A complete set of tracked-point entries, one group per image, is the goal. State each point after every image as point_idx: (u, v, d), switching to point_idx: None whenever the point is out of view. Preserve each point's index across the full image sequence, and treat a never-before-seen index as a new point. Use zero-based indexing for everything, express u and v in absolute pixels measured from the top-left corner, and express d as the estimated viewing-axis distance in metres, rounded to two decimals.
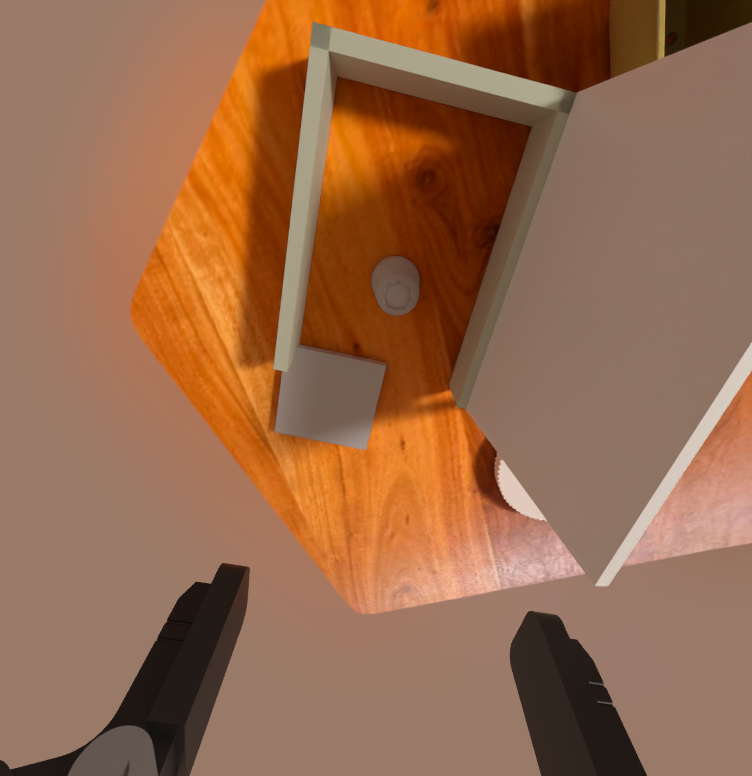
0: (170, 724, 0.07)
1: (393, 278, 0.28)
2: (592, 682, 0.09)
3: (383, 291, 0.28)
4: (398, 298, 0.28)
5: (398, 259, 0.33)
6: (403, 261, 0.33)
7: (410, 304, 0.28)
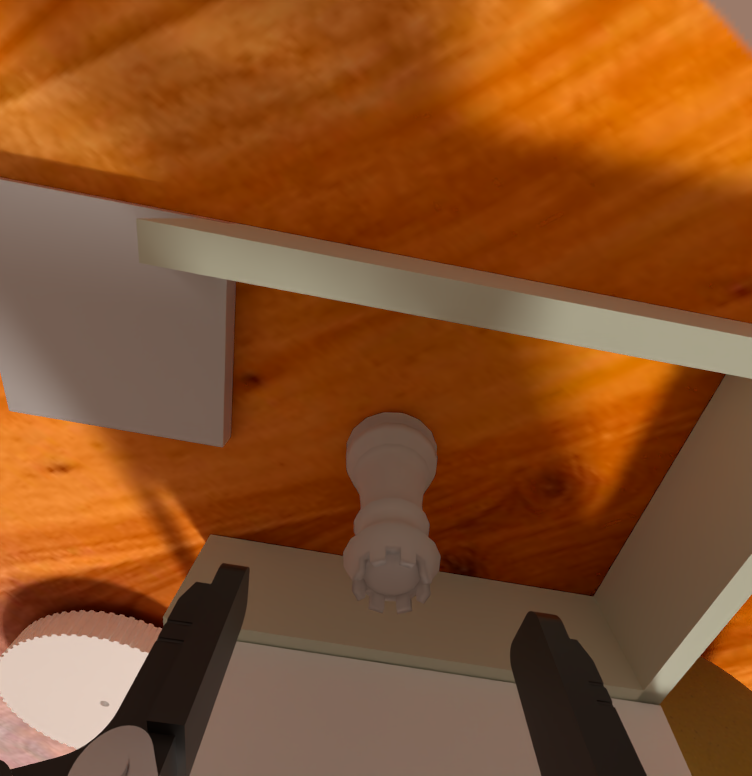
0: (170, 724, 0.07)
1: (430, 566, 0.12)
2: (592, 682, 0.09)
3: (404, 562, 0.12)
4: (386, 579, 0.12)
5: (435, 470, 0.18)
6: (431, 479, 0.18)
7: (375, 608, 0.12)
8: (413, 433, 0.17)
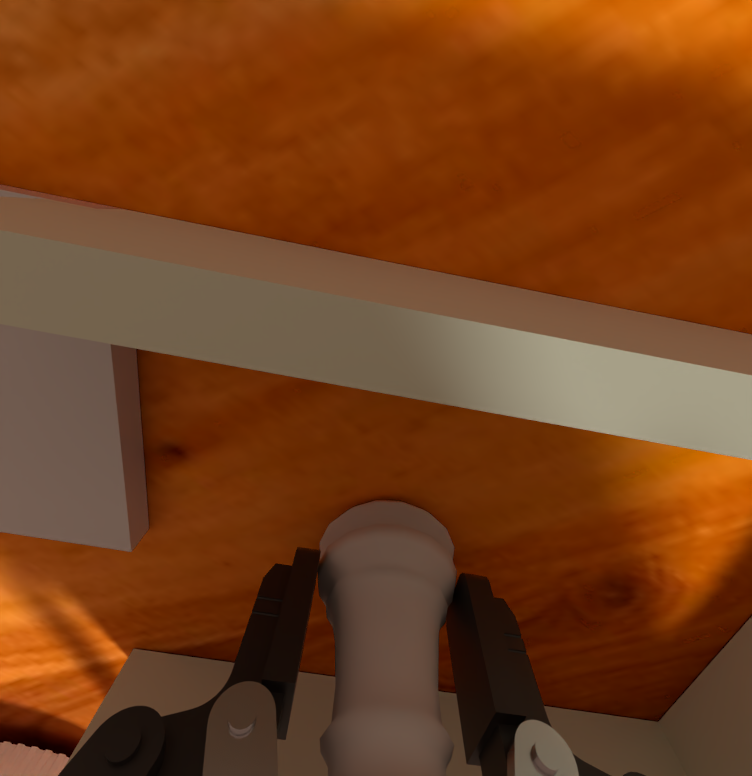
0: (282, 682, 0.08)
1: None
2: (510, 634, 0.10)
3: None
4: None
5: (453, 593, 0.12)
6: (448, 606, 0.12)
7: None
8: (421, 543, 0.11)
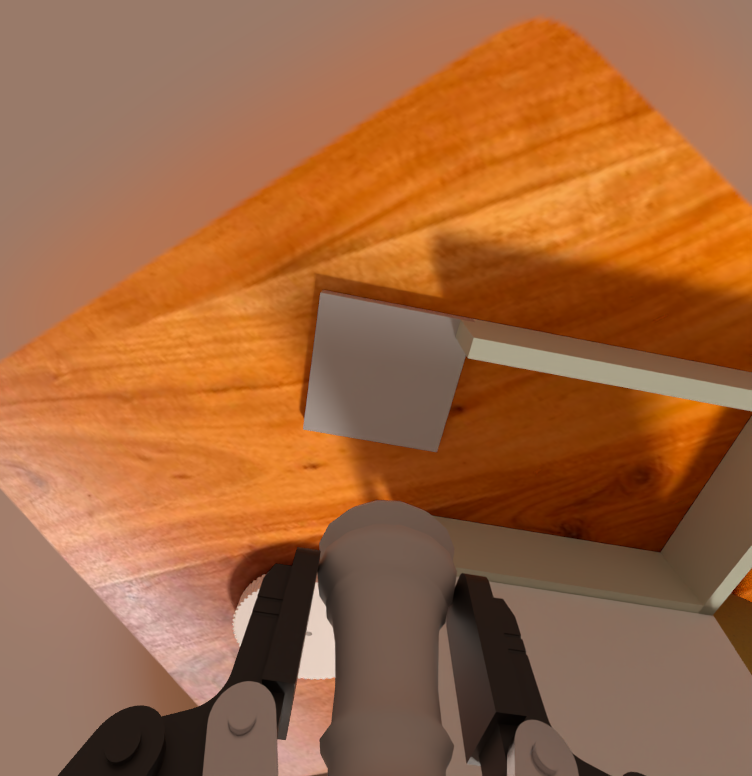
0: (282, 682, 0.08)
1: None
2: (510, 634, 0.10)
3: None
4: None
5: (453, 593, 0.12)
6: None
7: None
8: (421, 544, 0.11)
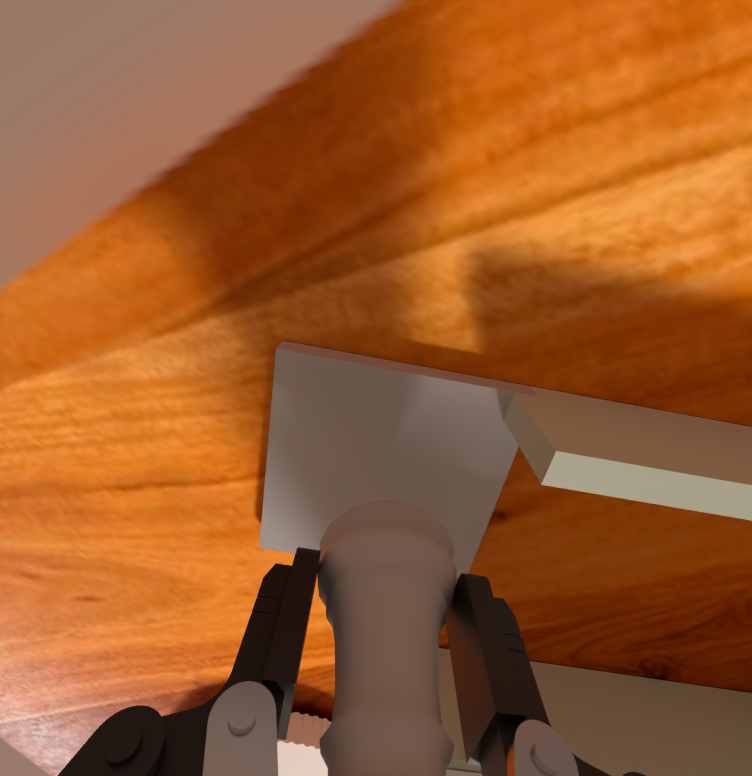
0: (282, 682, 0.08)
1: None
2: (510, 634, 0.10)
3: None
4: None
5: (453, 593, 0.12)
6: None
7: None
8: (421, 544, 0.11)
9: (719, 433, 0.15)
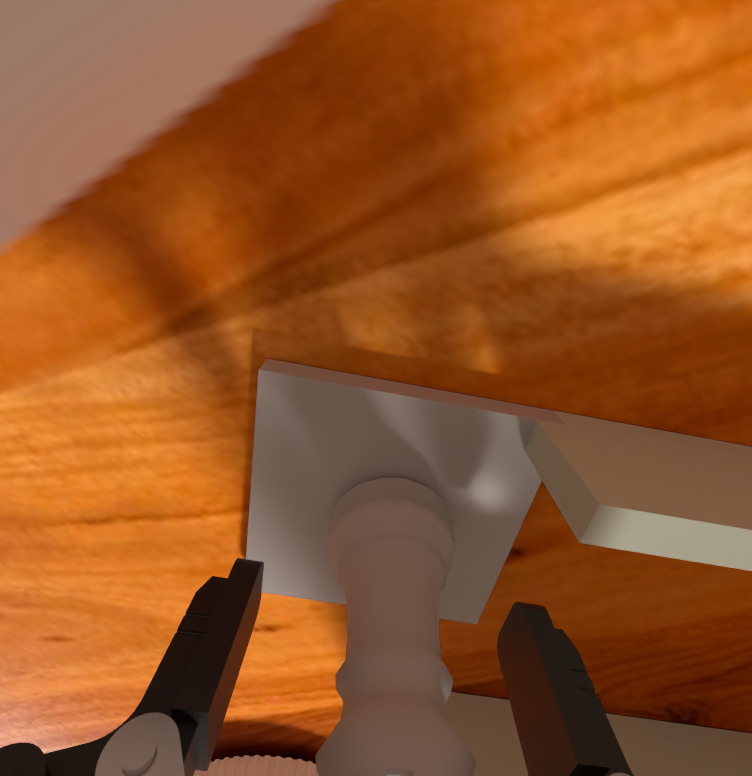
0: (194, 712, 0.07)
1: None
2: (575, 670, 0.10)
3: None
4: None
5: (452, 560, 0.13)
6: (447, 573, 0.13)
7: None
8: (423, 513, 0.12)
9: None
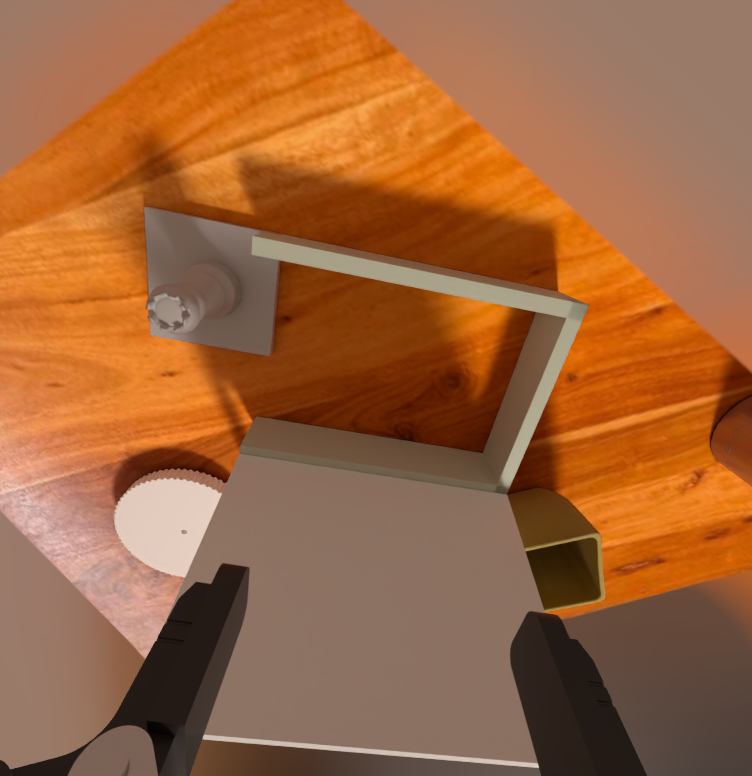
0: (170, 724, 0.07)
1: (189, 306, 0.24)
2: (592, 682, 0.09)
3: (169, 296, 0.23)
4: (167, 313, 0.24)
5: (233, 295, 0.29)
6: (231, 301, 0.29)
7: (162, 328, 0.24)
8: (215, 268, 0.29)
9: (370, 254, 0.30)
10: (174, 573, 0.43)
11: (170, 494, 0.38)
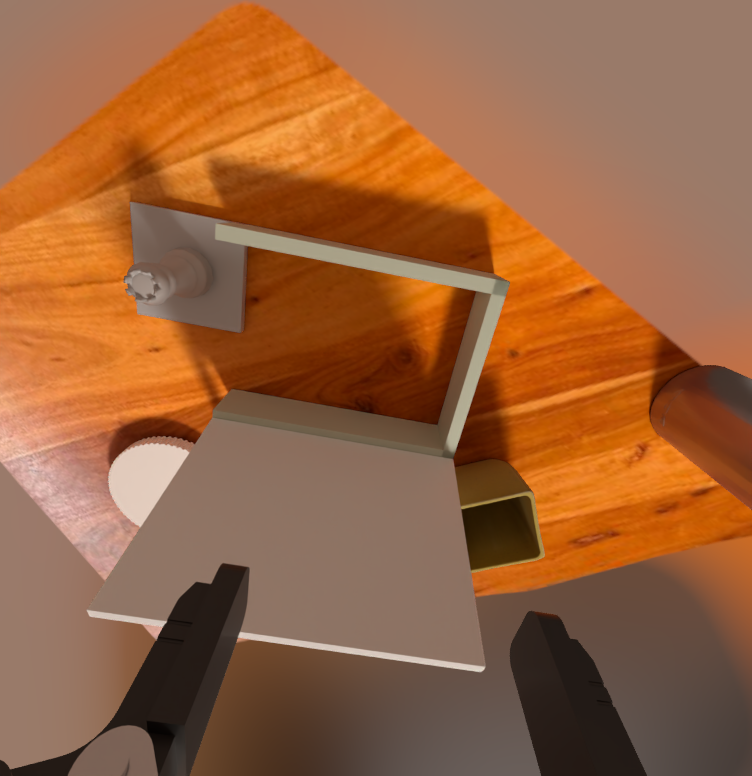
0: (170, 724, 0.07)
1: (160, 280, 0.29)
2: (592, 682, 0.09)
3: (142, 271, 0.28)
4: (141, 286, 0.29)
5: (204, 276, 0.34)
6: (203, 281, 0.34)
7: (137, 299, 0.29)
8: (188, 253, 0.33)
9: (323, 240, 0.34)
10: None
11: (156, 458, 0.43)
